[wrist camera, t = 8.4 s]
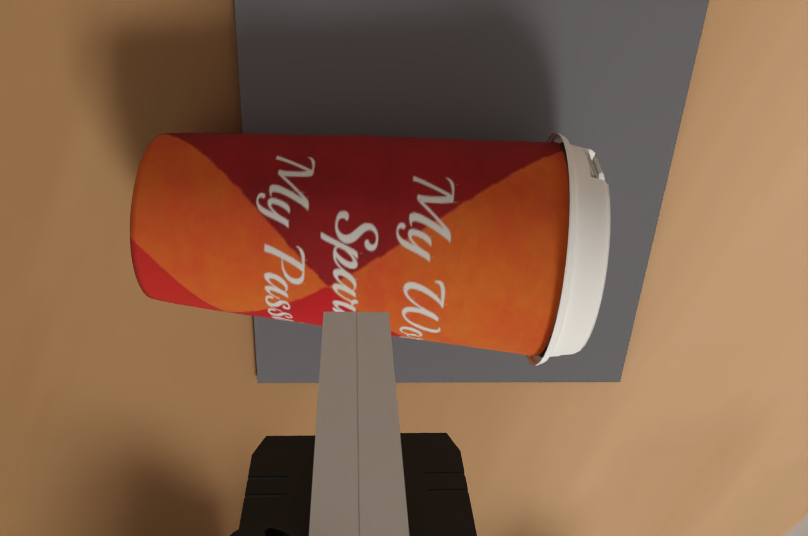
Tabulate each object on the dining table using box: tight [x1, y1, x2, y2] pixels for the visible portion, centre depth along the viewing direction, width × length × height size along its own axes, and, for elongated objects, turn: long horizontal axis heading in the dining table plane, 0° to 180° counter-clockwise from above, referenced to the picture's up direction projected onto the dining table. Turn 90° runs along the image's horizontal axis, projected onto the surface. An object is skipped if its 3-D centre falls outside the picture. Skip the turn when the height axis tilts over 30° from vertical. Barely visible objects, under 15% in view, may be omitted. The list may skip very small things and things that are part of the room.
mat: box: [234, 0, 709, 383], centre depth 27 cm, size 16×18×1 cm
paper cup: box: [130, 133, 611, 366], centre depth 24 cm, size 8×8×14 cm
